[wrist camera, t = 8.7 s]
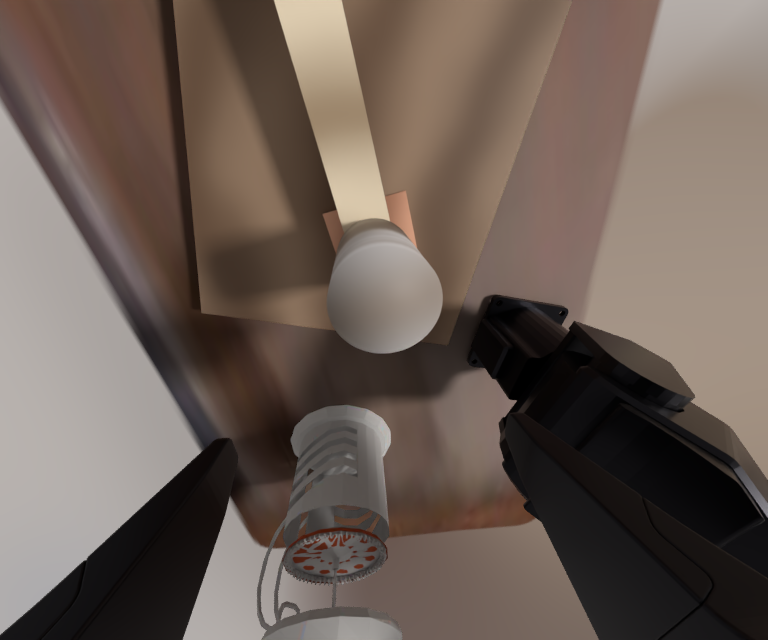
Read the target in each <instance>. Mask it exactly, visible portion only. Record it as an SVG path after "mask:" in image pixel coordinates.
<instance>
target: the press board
mask: <svg viewBox="0 0 768 640" xmlns="http://www.w3.org/2000/svg"><path fill="white" fill-rule="evenodd" d="M571 3H572V0H342V4H343V9H344V13H345V18H346V22H347V27H348V31H349V36H350V41H351V45H352V50H353V54H354V59H355V63H356V68H357V72H358V77H359V82H360V86H361V91H362V95H363V100H364V104H365V109H366V113H367V118H368V123H369V127H370V132H371V136H372V141H373V145H374V150H375V154H376V159H377V164H378V168H379V173H380V177H381V182H382V186H383V191H384V195H385V200H386V205H387V209H388V214H389V218H390V222H392V223H394V224H396V225H397V226H398V227H400V228H401V229H402V230H403V231H404V233H405V234H406V235H407V236H408V238H409V239H410V240H411V242H412V243H413V244H414V245H415V247H416V248H417V249H418V250H419V252H420V253H421V254H422V256H423V257H424V258H425V259H426V261H427V262H428V263H429V264H430V266H431V267H432V268H433V270H434V271H435V273H436V274H437V276H438V278H439V281H440V283H441V287H442V294H443V303H442V309H441V313H440V316H439V318H438V320H437V322H436V324H435V326H434V327H433V329H432V330H431V331H430V332H429V333H428V335H427V336H425V337H424V338H423V339H422V340H421V341H419V342H425V343H433V344H440V345H448V344H449V341H450V338H451V335H452V333H453V330H454V327H455V324H456V322H457V319H458V316H459V313H460V311H461V308H462V305H463V302H464V299H465V297H466V294H467V291H468V288H469V286H470V283H471V280H472V277H473V275H474V272H475V269H476V266H477V263H478V261H479V258H480V255H481V252H482V250H483V247H484V244H485V241H486V239H487V236H488V233H489V230H490V227H491V225H492V222H493V219H494V216H495V214H496V211H497V208H498V205H499V203H500V200H501V197H502V194H503V191H504V189H505V186H506V183H507V180H508V178H509V175H510V172H511V169H512V167H513V164H514V161H515V158H516V155H517V153H518V150H519V147H520V144H521V142H522V139H523V136H524V133H525V131H526V128H527V125H528V122H529V119H530V117H531V114H532V111H533V108H534V106H535V103H536V100H537V97H538V95H539V92H540V89H541V86H542V83H543V81H544V78H545V75H546V72H547V70H548V67H549V64H550V61H551V59H552V56H553V53H554V50H555V47H556V45H557V42H558V39H559V36H560V34H561V31H562V28H563V25H564V22H565V20H566V17H567V14H568V11H569V9H570V6H571ZM173 7H174V17H175V28H176V39H177V50H178V61H179V72H180V83H181V94H182V105H183V116H184V127H185V138H186V149H187V160H188V171H189V181H190V192H191V203H192V214H193V225H194V236H195V247H196V258H197V269H198V280H199V291H200V302H201V313H205V314H213V315H220V316H228V317H235V318H243V319H251V320H258V321H266V322H273V323H281V324H289V325H296V326H304V327H311V328H319V329H326V330H334V331H336V330H335V329H334V327H333V326H332V323H331V321H330V319H329V315H328V311H327V294H328V289H329V284H330V280H331V275H332V271H333V266H334V262H335V258H336V253H337V249H338V245H339V242H340V240H341V238H342V236H343V235H344V231H343V228H342V225H341V222H340V218H339V215H338V212H337V208H336V205H335V202H334V198H333V195H332V192H331V188H330V185H329V182H328V178H327V175H326V172H325V168H324V165H323V162H322V158H321V155H320V152H319V148H318V145H317V142H316V138H315V135H314V132H313V129H312V125H311V122H310V119H309V115H308V112H307V109H306V105H305V102H304V99H303V95H302V92H301V89H300V85H299V82H298V79H297V75H296V72H295V69H294V65H293V62H292V59H291V55H290V52H289V49H288V45H287V42H286V39H285V35H284V32H283V29H282V26H281V22H280V19H279V16H278V12H277V9H276V6H275V2H274V0H173Z"/></svg>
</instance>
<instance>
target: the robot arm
mask: <svg viewBox="0 0 768 640" xmlns="http://www.w3.org/2000/svg"><path fill="white" fill-rule="evenodd" d="M499 300H500V302H499V303H498V304H496V302H497V301H499ZM561 311H562V312H561ZM560 312H561V313H560ZM559 313H560V314H559ZM567 314H568V309H567V308H565V307H564V306H560V305H554V304H549V303H543V302H537V301H531V300H525V299H519V298H513V297H507V296H502V295H496V296H494V297H493V298H492V300H491V302H490V304H489V307H488V309H487V312H486V314H485V316H484V319H483V320H482V321H481V323H480V325H479V328H478V330H477V333H476V335H475V338H474V340H473V343H472V345H471V347H472V348H471V351H470V353H469V356H468V358H467V361H468V363H469V365H470V366H473V367H481V368H485V369H486V370H487V372H488V373H489V375H490V376H491V378H492V379H496V380H497V382H498V383H499V385H500V386H501V388H502V389H503V391H504V392H505V394H506V395H507V397H508V398H509V399H510V400H517V402H516V403H515V404H514V406H513V407H512V408H511V410H510V411H509V412H508V414H507V415H506V416H505V417H503V418H502V419H501V421H500V422H499V428H500V434H501V435H500V448H501V451H502V455H503V458H504V461H503V462H502V465H503V468H504V470H505V472H506V474H507V475H508V477H509V479H510V480H511V482H512V483H513V484H514V486H515V487H516V488H517V490H518V491H519V492H520V494H521V495H522V496H523V497H524V498H525V499H526V500H527V501H526V502H525V503H524V505H523V506H524V508H525V510H526V511H527V512H529V513H530V514H531V515H533V516H534V517H535V518H537V519H538V520H540V521H541V522H542V524H543V526H544V528H545V530H546V532H547V534H548V536H549V538H550V540H551V542H552V544H553V546H554V548H555V550H556V552H557V555H558V556H559V558H560V561H561V563H562V565H563V567H564V569H565V571H566V573H567V575H568V577H569V579H570V581H571V583H572V585H573V587H574V589H575V591H576V593H577V595H578V597H579V600H580V601H581V603H582V606H583V608H584V610H585V612H586V613H587V616H588V618H589V620H590V622H591V624H592V626H593V628H594V630H595V632H596V634H597V636H598V638H599V640H768V480H767V479H766V477H765V476H764V474H763V473H762V471H761V470H760V468H759V467H758V465H757V464H756V463H755V461H754V460H753V458H752V457H751V455H750V454H749V453H748V451H747V450H746V448H745V447H744V445H743V444H742V443H741V441H740V440H739V438H738V437H737V435H736V434H735V432H734V431H733V430H732V429H731V428H730V427H729V426H728V425H727V424H725V423H724V422H722V421H721V420H719V419H718V418H716V417H714V416H713V415H711V414H709V413H708V412H706V411H704V410H703V409H701V408H700V407H698V406H696V405H695V404H693V403H691V401H692V400H693V399H694V398H695V395H694V393H693V392H692V391H691V389H690V388H689V387H688V385H687V384H686V383H685V381H684V380H683V379H682V377H681V376H680V375H679V373H678V372H677V371H676V369H675V368H674V367H673V365H672V364H671V363H670V362H668V361H667V360H665V359H663V358H661V357H660V356H658V355H656V354H654V353H652V352H651V351H649V350H647V349H645V348H643V347H642V346H640V345H638V344H636V343H634V342H632V341H630V340H628V339H625V338H622V337H619V336H616V335H613V334H611V333H608V332H605V331H602V330H599V329H596V328H593V327H590V326H588V325H585V324H582V323H579V322H576V321H574V322H573V323H572V325H571V326H570V327H569V330H570V331H568V330H566V329H565V328H564V327H562V326H561V325H562V324H563V322H564V320H565V318H566V316H567ZM474 359H475V361H472V360H474ZM237 463H238V455H237V452H236V449H235V447H234V444H233V442H232V440H231V439H230V438H220V439H216V440H214V441H213V442H212V443H211V444H210V445H209V446H208V447H206V448H205V449H204V450H203V451H202V452H201V453H200V454H199V455H198V456H197V457H196V458H195V459H193V460H192V461H191V462H190V463H189V464H188V465H187V466H186V467H185V468H184V469H183V470H182V471H180V473H178V474H177V475H176V476H175V477H174V478H173V479H172V480H171V481H170V482H169V483H167V484H166V485H165V486H164V487H163V488H162V489H161V490H160V491H159V492H158V493H157V494H156V495H154V496H153V497H152V498H151V499H150V500H149V501H148V502H147V503H146V504H145V505H144V506H143V507H141V509H139V510H138V511H137V512H136V513H135V514H134V515H133V516H132V517H131V518H130V519H129V520H127V521H126V522H125V523H124V524H123V525H122V526H121V527H120V528H119V529H118V530H117V531H116V532H115V533H113V534H112V535H111V536H110V537H109V538H108V539H107V540H106V541H105V542H104V543H103V544H102V545H100V546H99V547H98V548H97V549H96V550H95V551H94V552H93V553H92V554H91V555H90V556H88V558H87V561H86V560H85V561H83V562H82V563H81V564H80V565H79V566H77V567H76V568H75V569H74V570H73V571H72V572H71V573H70V574H69V575H68V576H67V577H66V578H64V579H63V580H62V581H61V582H60V583H59V584H58V585H57V586H56V587H55V588H54V589H52V590H51V591H50V592H49V593H48V594H47V595H46V596H44V597H43V598H42V599H41V600H40V601H39V602H38V603H37V604H36V605H34V606H33V607H32V608H31V609H30V610H29V611H27V612H26V613H25V614H24V615H23V616H22V617H20V618H19V619H18V620H17V621H16V622H15V623H14V624H12V625H11V626H10V627H9V628H8V629H7V630H5V631H4V632H3V633H2V634H1V635H0V640H183V637H184V634H185V631H186V628H187V625H188V622H189V619H190V616H191V614H192V610H193V608H194V605H195V602H196V599H197V596H198V593H199V590H200V587H201V584H202V581H203V578H204V576H205V573H206V569H207V567H208V564H209V560H210V558H211V555H212V552H213V549H214V546H215V543H216V540H217V538H218V534H219V532H220V529H221V526H222V523H223V520H224V516H225V513H226V509H227V505H228V501H229V497H230V493H231V488H232V484H233V480H234V476H235V471H236V467H237Z"/></svg>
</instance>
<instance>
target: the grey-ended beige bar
mask: <svg viewBox="0 0 768 640" xmlns="http://www.w3.org/2000/svg"><path fill="white" fill-rule="evenodd" d="M274 2H275V6H276V9H277V12H278V16H279V19H280V22H281V26H282V29H283V32H284V35H285V39H286V42H287V45H288V49H289V52H290V55H291V59H292V62H293V65H294V69H295V72H296V75H297V79H298V82H299V85H300V89H301V92H302V95H303V99H304V102H305V105H306V109H307V112H308V115H309V119H310V122H311V125H312V129H313V132H314V135H315V138H316V142H317V145H318V148H319V152H320V155H321V158H322V162H323V165H324V168H325V172H326V175H327V178H328V182H329V185H330V188H331V192H332V195H333V198H334V202H335V205H336V208H337V212H338V215H339V218H340V222H341V225H342V228H343V231H344V235H343V236H342V238H341V240H340V242H339V245H338V249H337V253H336V258H335V262H334V266H333V271H332V275H331V280H330V284H329V289H328V294H327V311H328V315H329V319H330V321H331V323H332V326H333V327H334V329H335V330H336V332H337V333H338V334H339V335H340V336H341V337H342V338H343V339H344V340H345V341H346V342H348V343H349V344H350V345H352V346H354V347H356V348H358V349H361V350H363V351H367V352H371V353H393V352H398V351H401V350H405V349H407V348H409V347H411V346H413V345H415V344H417V343H418V342H419V341H421V340H422V339H423V338H424V337H425V336H427V335H428V333H429V332H430V331H431V330H432V329H433V327H434V326H435V324H436V322H437V320H438V318H439V316H440V313H441V309H442V303H443V294H442V287H441V283H440V281H439V278H438V276H437V274H436V273H435V271H434V270H433V268H432V267H431V266H430V264H429V263H428V262H427V261H426V259H425V258H424V257H423V256H422V254H421V253H420V252H419V250H418V249H417V248H416V247H415V245H414V244H413V243H412V242H411V240H410V239H409V238H408V236H407V235H406V234H405V233H404V231H403V230H402V229H401V228H400V227H398V226H397V225H396V224H394V223H392V222H390V218H389V214H388V209H387V205H386V200H385V195H384V191H383V186H382V182H381V177H380V173H379V168H378V164H377V159H376V154H375V150H374V145H373V141H372V136H371V132H370V127H369V123H368V118H367V113H366V109H365V104H364V100H363V95H362V91H361V86H360V82H359V77H358V72H357V68H356V63H355V59H354V54H353V50H352V45H351V41H350V36H349V31H348V27H347V22H346V18H345V13H344V9H343V4H342V0H274Z"/></svg>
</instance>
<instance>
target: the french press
mask: <svg viewBox="0 0 768 640" xmlns="http://www.w3.org/2000/svg"><path fill="white" fill-rule="evenodd" d="M291 443H292V447H293V451H294V454H295V455H296V456H297V457H298V462H297V467H296V472H295V477H294V482H293V487H292V492H291V497H290V503H289V508H288V513H287V517H286V518H285V519H284V521H283V522H282V524H281V525H280V526H279V528H278V529H277V531H276V532H275V534H274V537H273V539H272V541H271V544H270V546H269V548H268V551H267V553H266V556H265V558H264V561H263V566H262V570H261V575H260V579H259V584H258V588H257V615H258V618H259V621H260V624H261V626H262V627H263V628H264V629H266V630H267V631H266V633H265V634H264V636H263V638H262V640H402V631H401V628H400V626H399V624H398V623H397V621H396V620H394V619H393V618H392V617H391V616H390V615H388V614H387V613H384V612H381V611H377V610H373V609H370V608H361V607H335V600H336V583H337V585H339V583H342V585H343V584H344V582H346V583H349V581H350V582H351V583H352V582H353V580H354V581H356V580H358V581H360V579H361V578H362V579H364V578H365V577H368V576H369V575H372V574H374V573H375V572H377V570H380V568H381V567H382V565H383V564H384V562H385V561H386V559H387V558H388V556H387V547H386V545H385V544H384V542H385V541H386V539H387V538H388V537H389V524H388V512H387V500H386V489H385V478H384V468H383V456H384V455H385V453H386V452H387V450H388V448H389V446H390V444H391V436H390V429H389V428H388V426H387V425H386V423H385V422H384V420H383V418H381V417H380V416H378V415H376V414H375V413H373V412H371V411H370V410H368V409H365V408H360V407H355V406H351V405H339V406H328V407H324V408H322V409H319V410H317V411H314V412H312V413H309V414H307V415H306V416H305V417H304V418H303V419H302V420H301V421H300V422H299V423H298V424H297V425H296V426H295V428H294V431H293V434H292V437H291ZM310 468H311V469H312V470H314V471H313V472H312V473H311V474H310V475H309V476H307V475H308V470H309V469H310ZM312 480H313V482H312V488H311V489H310V490H309V491H308V492H307V493H305V488H306V485H307V484H309V483H310V482H311V481H312ZM341 504H343V505H350V506H358V507H361V508H360V509H359V510H343V509H340V508H338V507H335V505H341ZM369 510H372V511H373V513H372V515H371V517H370V518H368V519H367V520H365V521H364V522H362V523H361V524H359V525H358V526H344V525H341V524H339V523H336V522H334V515H336V516H339V517H342V518H359V517H361V516H362V515H364V514H365V513H367V512H369ZM307 511H309V512H308V516H307V517H306V519H305V520H304V521H303V522H302V523H301V524H300V520H301V513H304V512H307ZM377 514H380V515H381V517H380V519H379V521H378V523H377V525H376V526H375V528H374V530H373V532H372V533H370V532H368V531H365V530H366V529H367V528H369V527H370V526H371V524H372V523H373V521H374V520H375V518H376V516H377ZM306 522H307V526H306V534H305V535H303V536H301V537H300V538H299V539H298V532H299V530H300V529H301V528H302V527H303V525H304V524H305V523H306ZM284 525H285V529H284V534H283V539H284V542H285V544H286V547H287V548H286V550H285V552H284V555H283V558H282V561H281V564H280V567H279V571H278V576H277V581H276V586H275V593H274V597H275V598H274V613H275V617H276V624H274V625H273V626H269V625H268V624H267V623H265V621H264V618H263V615H262V612H261V584H262V580H263V576H264V572H265V568H266V564H267V560H268V556H269V554H270V551H271V549H272V547H273V545H274V542H275V540H276V538H277V536H278V534H279V532H280V531H281V529H282V528H283V526H284ZM283 565H284V567H285V569H286V571H287V572H288V573H289V574H290V575H293V577H294V578H295V577H296V578H297V580H298V579H299V581H301V579H302V580H303V582H305V580H306V581H307V583H308V582H311V584H312V583H315V585H316V583H320V585H321V583H324V585H325V584H326V583H328V585H330V584H333V598H332V608H324V609H316V610H310V611H306V612H303V613H300V609H299V608H298V606H297V605H296V604H294V603H290V602H284V603H282V605H281V607H280V609H279V611H278V590H279V584H280V578H281V573H282V569H283ZM285 607H289V608H292V609H294V610H295V611H296V612H297V614H296V615H293V616H290V617H287V618H284V619H282V620H280V619H281V615H282V612H283V609H284V608H285Z"/></svg>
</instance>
